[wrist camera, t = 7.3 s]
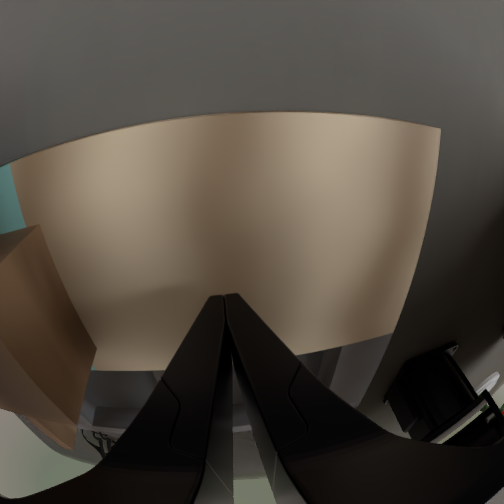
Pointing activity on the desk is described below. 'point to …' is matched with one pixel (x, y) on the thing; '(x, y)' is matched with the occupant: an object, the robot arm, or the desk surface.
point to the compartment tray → (229, 240)
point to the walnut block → (39, 334)
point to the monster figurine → (488, 389)
